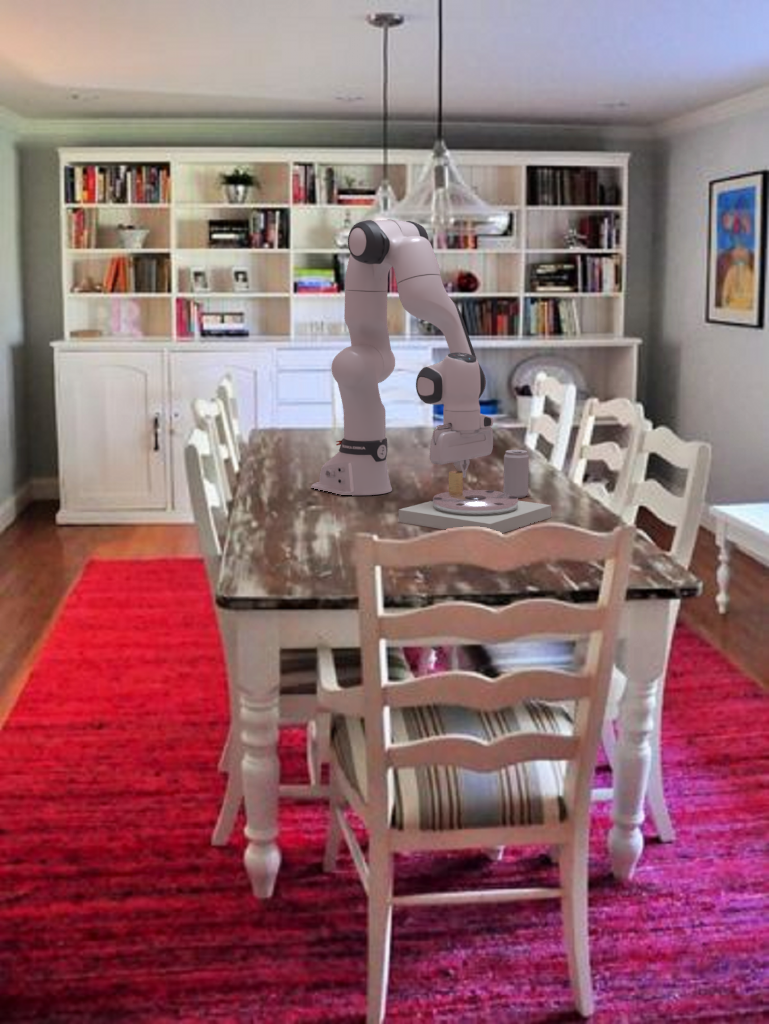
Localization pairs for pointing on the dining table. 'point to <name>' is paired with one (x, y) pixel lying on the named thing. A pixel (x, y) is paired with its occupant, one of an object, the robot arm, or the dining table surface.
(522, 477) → the beverage can
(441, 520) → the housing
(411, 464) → the dining table surface
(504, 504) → the turntable disc
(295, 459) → the dining table surface
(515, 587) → the dining table surface
